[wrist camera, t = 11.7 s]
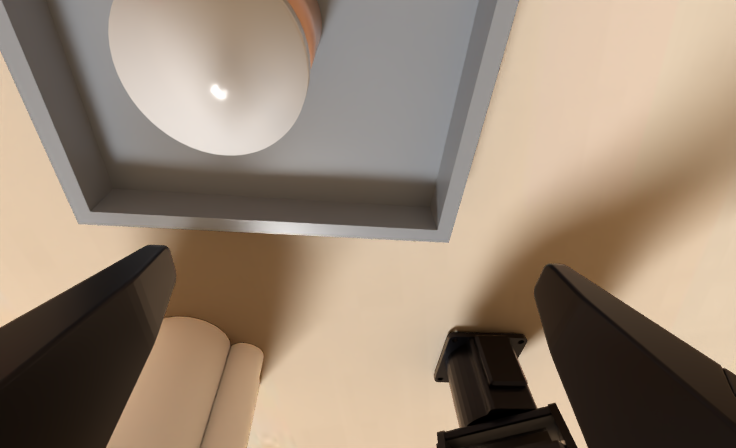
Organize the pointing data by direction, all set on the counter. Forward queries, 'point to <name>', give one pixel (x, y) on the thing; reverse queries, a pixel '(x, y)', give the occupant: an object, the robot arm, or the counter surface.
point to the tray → (298, 146)
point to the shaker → (217, 67)
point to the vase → (192, 391)
